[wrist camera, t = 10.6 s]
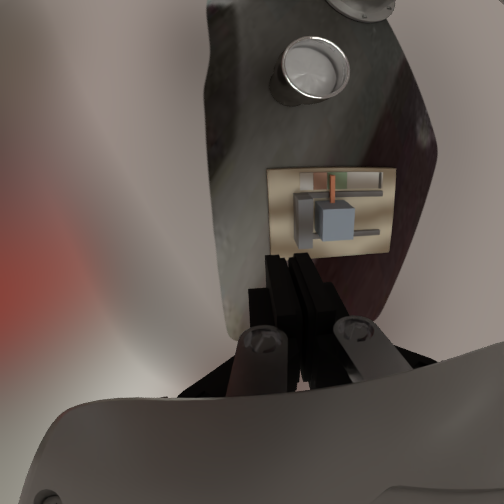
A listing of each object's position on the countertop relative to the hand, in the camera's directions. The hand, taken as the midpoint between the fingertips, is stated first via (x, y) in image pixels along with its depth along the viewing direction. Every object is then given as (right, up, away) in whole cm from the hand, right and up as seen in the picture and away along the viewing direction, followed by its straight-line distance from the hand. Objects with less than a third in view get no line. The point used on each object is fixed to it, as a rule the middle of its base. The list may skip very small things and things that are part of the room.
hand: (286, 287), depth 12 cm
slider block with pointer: (+10, +9, +30) cm, 33 cm away
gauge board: (+11, +8, +32) cm, 35 cm away
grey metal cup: (+4, +25, +25) cm, 35 cm away
